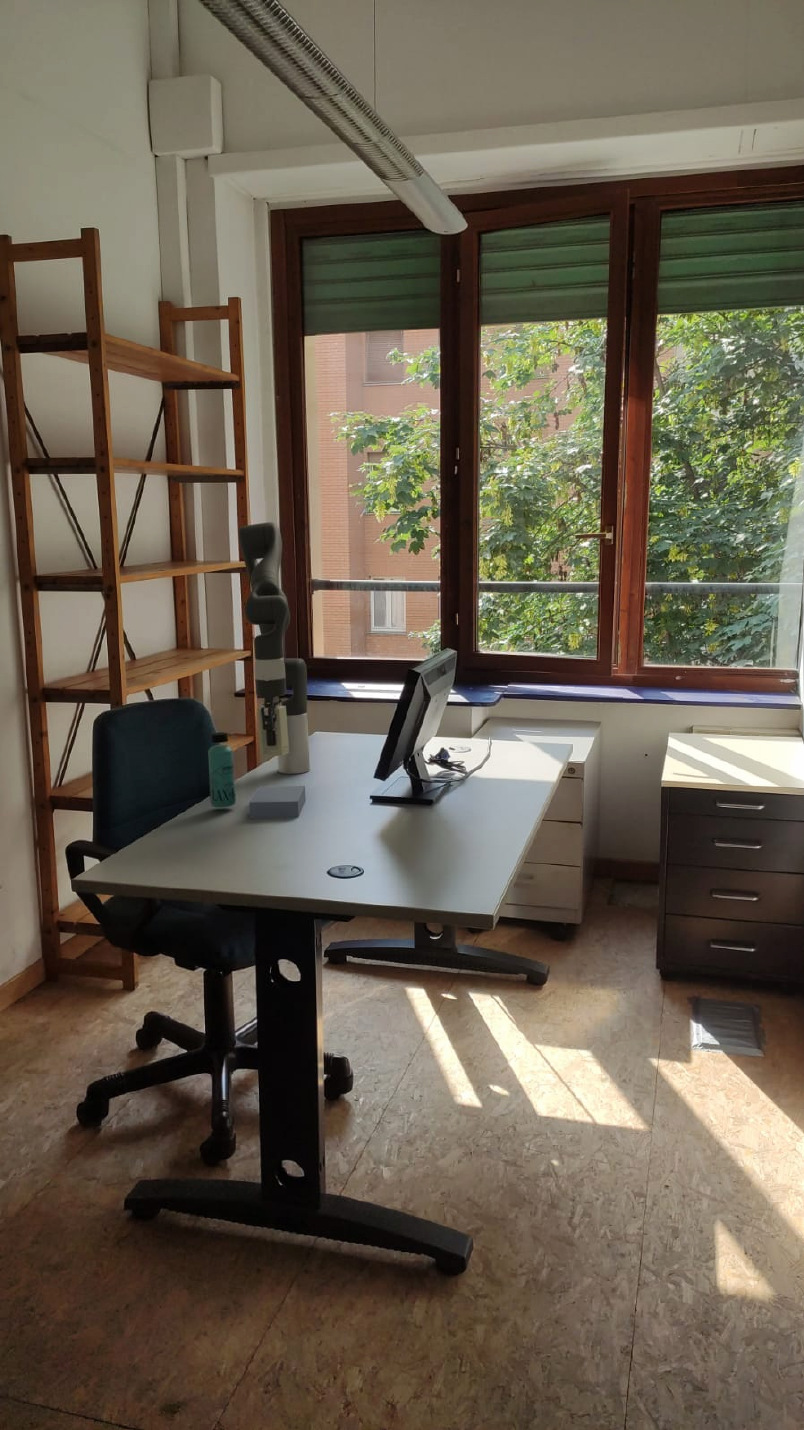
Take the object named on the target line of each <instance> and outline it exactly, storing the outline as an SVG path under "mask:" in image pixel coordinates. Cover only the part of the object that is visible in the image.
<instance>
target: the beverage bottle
mask: <svg viewBox="0 0 804 1430" xmlns="http://www.w3.org/2000/svg"><path fill="white" fill-rule="evenodd" d="M228 741H229V736H228V733H227V732H224V731H223V732H222V731H220V732H214V733H212V734H211V743H213V744H216V745H213V746H211V747H210V748H209V749H207V753H208V755H207V757H208V771H209V772H208V773H209V774H208V775H209V776H208V778H209V781H208V782H209V798H210V801H209V802H210V804H211V806H212V807H213V808H229V807H232V806H234V805H235V804H236V801H237V800H236V798H237V797H236V796H237V794H236V787H235V770H234V769H235V765H234V754H233V753H234V750H233V749H232V747H231V746H229V745H228V744H221V743H227V742H228ZM217 744H218V745H217Z"/></svg>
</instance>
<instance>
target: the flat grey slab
mask: <svg viewBox="0 0 804 1430" xmlns="http://www.w3.org/2000/svg"><path fill="white" fill-rule="evenodd" d="M306 798H307V797H306V785H288V786H287V785H286V786H285V785H282V786H273V785H272V786H258V788H257V790H256V791H255V793H254V795H253V796H252V797H251V798H250V799H251V800H250V801H249V803H248V804H249V805H248V806H249V819H253V820H254V819H285V818H287V819H288V818H291V819H292V818H299V817H300V815H301V812H302V810H303V808H304V806H305V804H306V800H307V799H306Z"/></svg>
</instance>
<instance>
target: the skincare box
mask: <svg viewBox="0 0 804 1430" xmlns="http://www.w3.org/2000/svg"><path fill="white" fill-rule="evenodd" d="M261 708H262V706H261V707H258V708H257V709H256V710H257V721H258V722H257V723H258V733H259V735H258V737H259V746H260V756H264V757H265V756H267V757H268V756H270V757H278V756H283V755H286V754H287V753H289V742H288V729H287V716H286V706H280V707H279V708H278V709H274V715H273V718H274V717H275V713H276V714H277V721H276V722H275V726H276V730H275V733H276V745H275V746H267V738H266V731H265V730H263V722H262V714H261ZM268 725H271V724H270V722H268Z"/></svg>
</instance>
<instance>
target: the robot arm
mask: <svg viewBox="0 0 804 1430" xmlns="http://www.w3.org/2000/svg"><path fill="white" fill-rule="evenodd" d="M238 541H239V542H238V543H239V547H240V551H241V554H242V559H243V560H244V564H245V568H246V572H247V575H248V579H249V584H250V593H249V595H248V597H247V599H246V603H245V607H244V616H245V618H246V620H247V622H249V623H250V624H251V625H254V626H255V625H256V626H258V627H259V632H260V634H257V635H256V636H254V640H253V646H254V647H253V648H254V681H255V683H254V684H255V695H256V697H260V698H263V702H264V703H262V704H261V705H262V706H261V707H262V708H261V714H262V722H263V730H265V731H266V738H267V746H275V745H276V733H275V730H276V726H275V722H276V721H277V714H276V713H275V717H274V718H273V715H274V709H278V708H279V707H280V706H286V716H287V729H288V742H289V753H287V754H286V755H283V756H277V766H278V767H277V768H278V772H279V773H281V774H287V775H288V774H289V775H292V774H302V773H306V772H309V771H310V770H311V765H310V763H311V762H310V744H309V727H308V726H309V723H308V671H307V670H308V668H307V664H306V662H305V660H304V658H297V657H295V658H293V657H292V658H291V657H288V658H287V657H286V658H285V657H284V648H283V647H284V636H285V634H286V632H287V629H288V627H289V625H290V623H291V614H290V613H291V612H290V608H289V602H288V598H287V596H286V593H284V591H283V589H281V588H280V579H279V577H280V576H279V573H280V567H281V561H282V555H283V554H282V553H283V540H282V534H281V531H280V528H279V526H278V524H277V523H275V522H273V521H270V522H269V521H268V522H261V523H255V524H248V525H242V526H241V527H240V528H239V530H238ZM258 560H260V561H259V562H258ZM287 691H292V696H290V697H289V698H288V699H286V700H283V699H282V698H280V697H281V696H282V697H283V696H285V695H286V694H287ZM268 722H270V724H271V725H268Z"/></svg>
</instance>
